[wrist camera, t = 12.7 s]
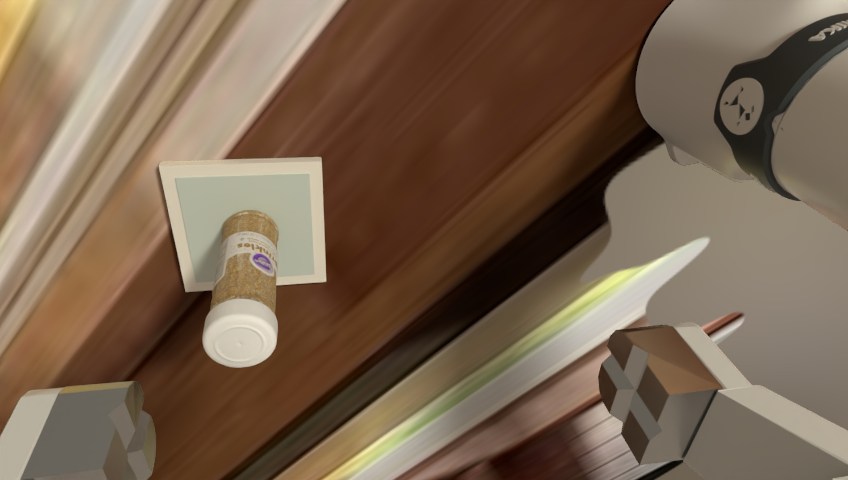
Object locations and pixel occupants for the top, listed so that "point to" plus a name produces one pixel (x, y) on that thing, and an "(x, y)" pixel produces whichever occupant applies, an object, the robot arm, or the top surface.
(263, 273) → the sprinkles bottle
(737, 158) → the robot arm
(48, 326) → the top surface
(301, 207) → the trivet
